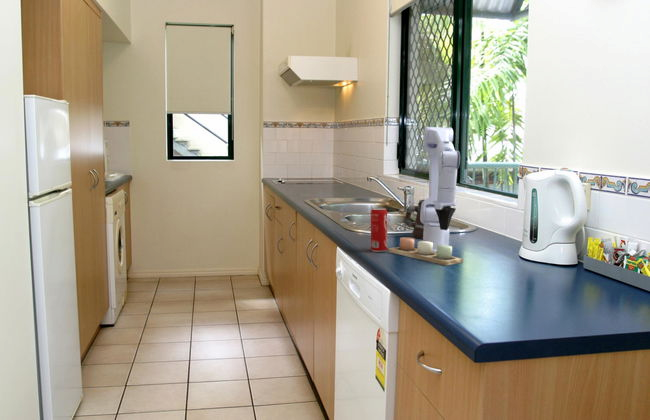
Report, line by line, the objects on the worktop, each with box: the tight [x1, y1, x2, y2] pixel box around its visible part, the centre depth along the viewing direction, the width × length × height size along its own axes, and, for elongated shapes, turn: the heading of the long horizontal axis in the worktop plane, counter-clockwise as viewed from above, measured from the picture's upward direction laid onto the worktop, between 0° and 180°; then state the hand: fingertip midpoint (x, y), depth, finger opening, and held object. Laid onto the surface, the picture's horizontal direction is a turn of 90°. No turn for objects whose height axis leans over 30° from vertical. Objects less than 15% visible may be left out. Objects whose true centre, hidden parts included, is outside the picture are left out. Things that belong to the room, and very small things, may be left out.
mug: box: [403, 199, 430, 240], centre depth 246 cm, size 16×12×15 cm
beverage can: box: [370, 207, 388, 253], centre depth 214 cm, size 6×6×15 cm
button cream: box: [417, 240, 433, 254], centre depth 207 cm, size 5×5×4 cm
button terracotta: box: [399, 236, 416, 250], centre depth 213 cm, size 5×5×4 cm
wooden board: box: [387, 246, 464, 266], centre depth 207 cm, size 9×25×1 cm, turn 41°
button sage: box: [435, 245, 453, 258], centre depth 201 cm, size 5×5×4 cm
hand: (444, 229), depth 200 cm, fingers closed
